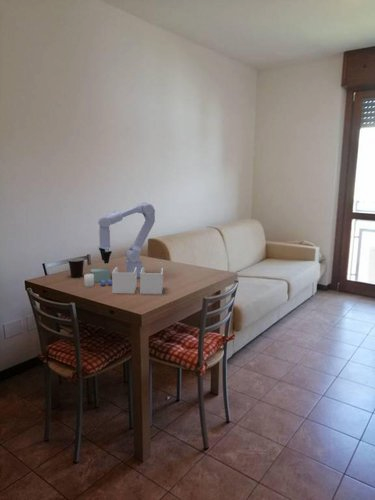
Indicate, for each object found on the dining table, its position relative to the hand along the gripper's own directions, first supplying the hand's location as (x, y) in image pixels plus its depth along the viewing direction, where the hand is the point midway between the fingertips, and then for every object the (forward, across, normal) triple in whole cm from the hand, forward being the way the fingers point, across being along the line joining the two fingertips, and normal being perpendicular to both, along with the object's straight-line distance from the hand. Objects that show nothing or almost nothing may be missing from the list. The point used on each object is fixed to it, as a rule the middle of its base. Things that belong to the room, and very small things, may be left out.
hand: (105, 261), depth 211 cm
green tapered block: (+10, +3, -4) cm, 11 cm away
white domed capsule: (+10, +11, -11) cm, 18 cm away
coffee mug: (+10, -10, -14) cm, 20 cm away
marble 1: (+10, +13, -4) cm, 17 cm away
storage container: (+10, +26, +12) cm, 31 cm away
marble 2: (+10, +13, 0) cm, 16 cm away
